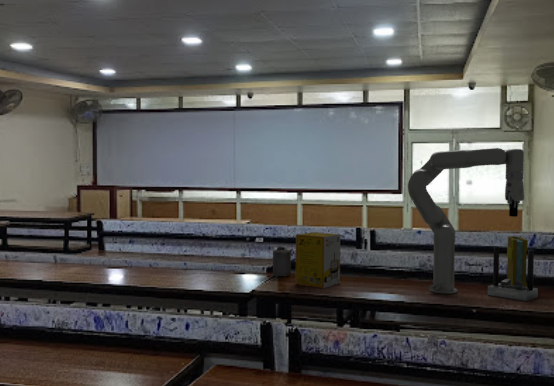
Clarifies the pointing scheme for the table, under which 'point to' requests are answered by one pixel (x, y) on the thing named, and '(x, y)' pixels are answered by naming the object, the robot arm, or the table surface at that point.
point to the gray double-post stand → (510, 289)
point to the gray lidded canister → (281, 263)
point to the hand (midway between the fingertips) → (513, 216)
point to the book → (517, 259)
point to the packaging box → (318, 259)
